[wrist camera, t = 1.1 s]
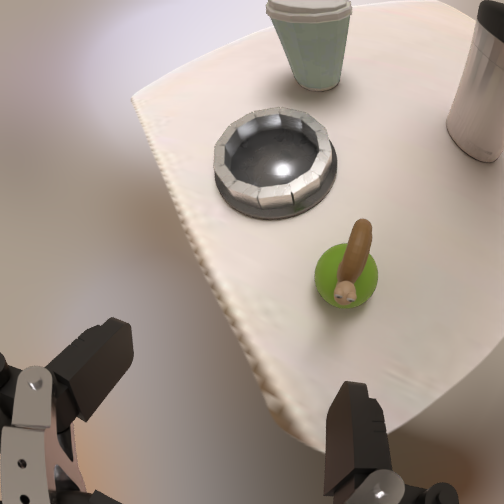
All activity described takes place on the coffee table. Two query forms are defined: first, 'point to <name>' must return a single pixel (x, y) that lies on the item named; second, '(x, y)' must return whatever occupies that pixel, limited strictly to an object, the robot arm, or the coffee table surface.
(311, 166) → the collar base
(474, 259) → the coffee table surface
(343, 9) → the disposable coffee cup
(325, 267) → the snail figurine
